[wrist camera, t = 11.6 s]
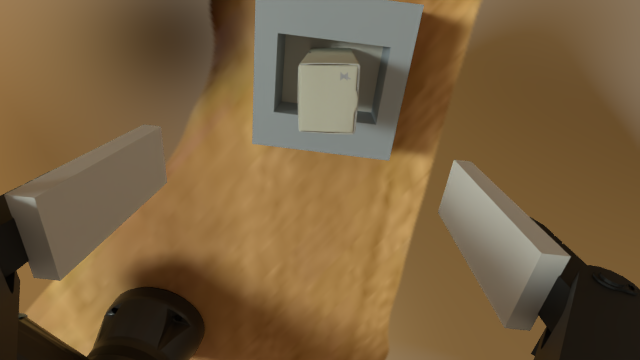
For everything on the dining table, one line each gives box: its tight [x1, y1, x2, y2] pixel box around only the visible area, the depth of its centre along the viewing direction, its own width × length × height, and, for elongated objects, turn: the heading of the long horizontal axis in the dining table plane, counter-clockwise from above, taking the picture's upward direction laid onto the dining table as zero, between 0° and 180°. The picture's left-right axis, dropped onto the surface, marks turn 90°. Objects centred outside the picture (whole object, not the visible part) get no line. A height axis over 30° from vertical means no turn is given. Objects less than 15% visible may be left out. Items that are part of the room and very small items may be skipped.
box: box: [298, 48, 360, 135], centre depth 28 cm, size 5×4×13 cm
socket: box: [252, 0, 424, 160], centre depth 32 cm, size 14×14×6 cm
